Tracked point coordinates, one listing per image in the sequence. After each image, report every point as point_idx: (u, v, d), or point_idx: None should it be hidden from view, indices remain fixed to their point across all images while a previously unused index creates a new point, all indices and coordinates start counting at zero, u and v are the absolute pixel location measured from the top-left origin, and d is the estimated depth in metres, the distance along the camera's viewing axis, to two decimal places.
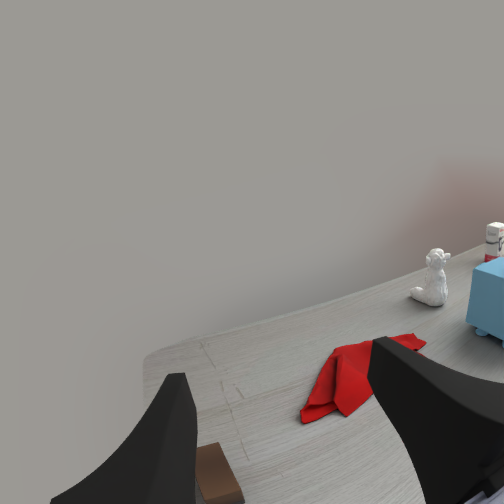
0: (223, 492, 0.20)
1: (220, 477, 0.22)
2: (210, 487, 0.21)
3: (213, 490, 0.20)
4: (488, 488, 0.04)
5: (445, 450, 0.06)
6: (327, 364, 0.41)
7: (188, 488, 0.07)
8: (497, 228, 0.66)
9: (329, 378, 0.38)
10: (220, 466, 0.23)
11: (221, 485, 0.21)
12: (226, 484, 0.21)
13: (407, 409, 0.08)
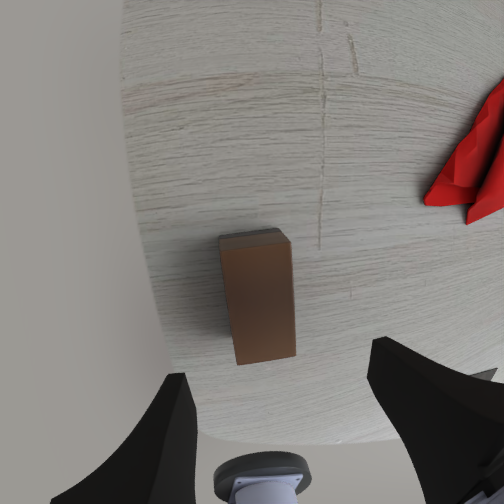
0: (269, 356, 0.17)
1: (272, 330, 0.16)
2: (251, 346, 0.16)
3: (255, 352, 0.16)
4: (488, 488, 0.04)
5: (445, 450, 0.06)
6: (495, 102, 0.15)
7: (188, 488, 0.07)
8: None
9: (488, 135, 0.16)
10: (279, 307, 0.16)
11: (270, 345, 0.16)
12: (278, 344, 0.16)
13: (406, 409, 0.08)
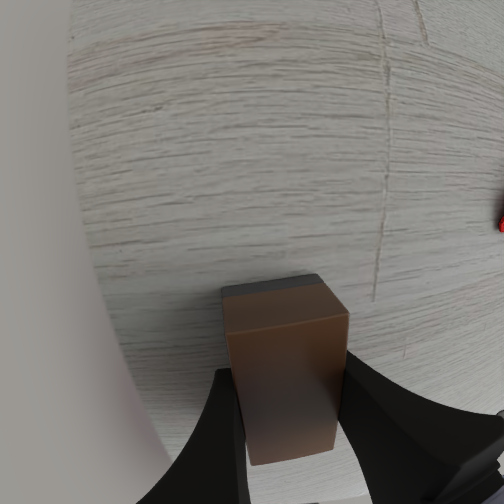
0: (297, 454, 0.10)
1: (306, 429, 0.09)
2: (273, 447, 0.10)
3: (278, 453, 0.10)
4: None
5: (391, 476, 0.05)
6: None
7: (246, 484, 0.07)
8: None
9: None
10: (319, 402, 0.09)
11: (299, 444, 0.10)
12: (311, 441, 0.10)
13: (358, 426, 0.08)
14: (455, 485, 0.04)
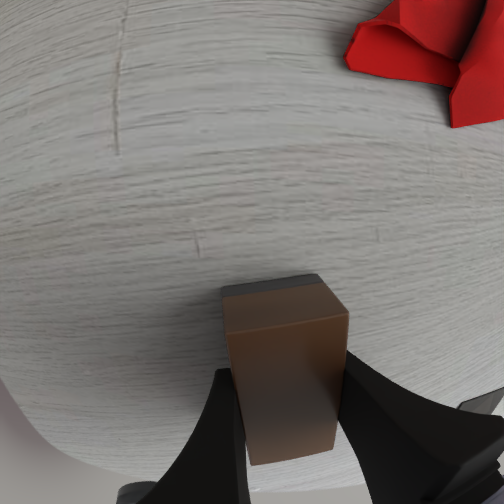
0: (296, 454, 0.10)
1: (305, 429, 0.09)
2: (273, 447, 0.10)
3: (277, 452, 0.10)
4: None
5: (391, 476, 0.05)
6: None
7: (246, 484, 0.07)
8: None
9: None
10: (318, 402, 0.09)
11: (299, 444, 0.10)
12: (311, 441, 0.10)
13: (358, 426, 0.08)
14: (455, 485, 0.04)
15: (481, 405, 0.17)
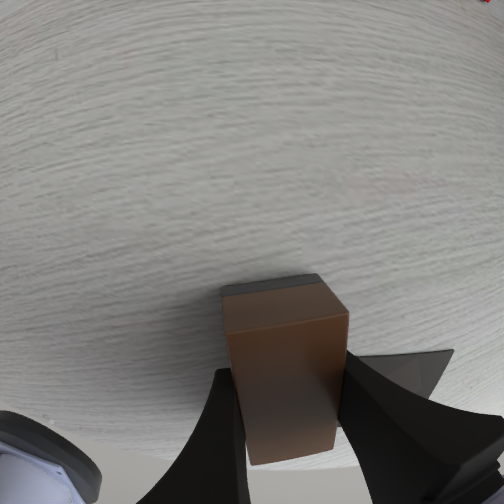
0: (296, 453, 0.10)
1: (305, 428, 0.09)
2: (273, 447, 0.10)
3: (277, 452, 0.10)
4: None
5: (391, 476, 0.05)
6: None
7: (246, 484, 0.07)
8: None
9: None
10: (318, 402, 0.09)
11: (299, 444, 0.10)
12: (311, 441, 0.10)
13: (358, 426, 0.08)
14: (455, 485, 0.04)
15: (395, 374, 0.13)
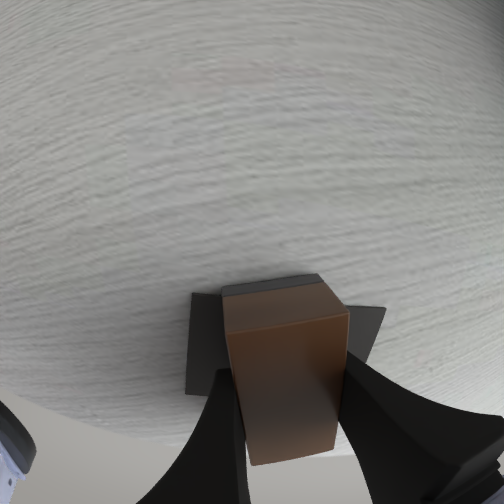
0: (297, 454, 0.10)
1: (306, 429, 0.09)
2: (273, 447, 0.10)
3: (278, 453, 0.10)
4: None
5: (391, 476, 0.05)
6: None
7: (246, 484, 0.07)
8: None
9: None
10: (319, 402, 0.09)
11: (300, 444, 0.10)
12: (311, 441, 0.10)
13: (358, 426, 0.08)
14: (455, 485, 0.04)
15: None
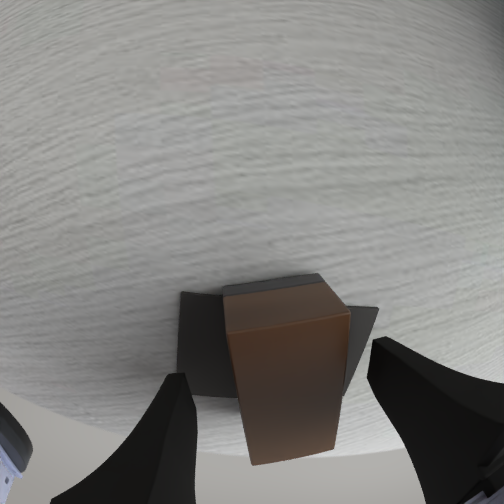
0: (297, 453, 0.10)
1: (306, 428, 0.09)
2: (274, 447, 0.10)
3: (278, 452, 0.10)
4: (488, 488, 0.04)
5: (445, 450, 0.06)
6: None
7: (188, 488, 0.07)
8: None
9: None
10: (320, 402, 0.09)
11: (300, 443, 0.10)
12: (312, 441, 0.10)
13: (407, 409, 0.08)
14: None
15: None
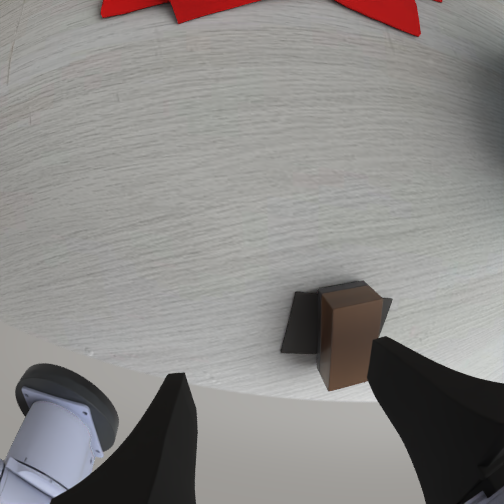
0: (352, 382, 0.19)
1: (359, 363, 0.19)
2: (342, 376, 0.19)
3: (344, 380, 0.19)
4: (488, 488, 0.04)
5: (445, 450, 0.06)
6: None
7: (188, 488, 0.07)
8: None
9: None
10: (367, 345, 0.18)
11: (355, 374, 0.19)
12: (361, 372, 0.19)
13: (407, 409, 0.08)
14: None
15: None
